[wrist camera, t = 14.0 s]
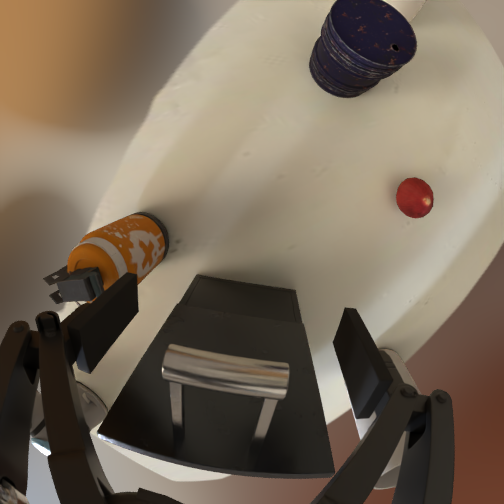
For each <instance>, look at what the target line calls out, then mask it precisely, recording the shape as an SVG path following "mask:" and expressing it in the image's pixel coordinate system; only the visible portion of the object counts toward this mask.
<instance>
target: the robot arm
mask: <svg viewBox="0 0 504 504" xmlns="http://www.w3.org/2000/svg"><path fill="white" fill-rule="evenodd" d="M138 312H139V309H138V287H137V274H134V273H129V272H126V273H125V274H124V275H123V276H122V277H120V278H119V279H118V280H117V281H116V282H115V283H113V284H112V285H111V286H110V287H109V288H108V289H106V290H105V291H104V292H103V293H102V294H101V295H100V296H98V297H97V298H96V299H95V300H94V301H93V302H92V303H88V302H87V303H85V304H82V305H80V306H79V307H78V308H77V309H75V311H73V312H72V313H71V315H69V316H68V317H66V318H65V319H64V320H63V321H62V322H61V323H60V319H59V316H58V314H57V313H56V312H53V311H45V312H42V313H40V314H39V315H37V317H36V319H35V320H36V324H37V328H38V331H32V330H30V327H29V325H28V323H27V322H25V321H17V322H14V323H13V324H11V325H10V327H9V328H8V330H7V332H6V334H5V337H4V339H3V341H2V343H1V345H0V504H29V502H28V500H27V498H26V490H27V479H28V451H29V440H30V435H31V436H32V437H33V438H32V439H31V442H32V444H33V445H34V446H35V447H36V448H37V449H38V450H40V451H41V452H42V453H44V454H45V455H47V456H48V464H49V468H50V471H51V475H52V479H53V482H54V485H55V489H56V492H57V495H58V498H59V500H60V503H61V504H183V503H181V502H179V501H176V500H174V499H172V498H170V497H168V496H165V495H162V494H158V493H155V492H151V491H148V490H145V489H142V488H139V489H138V492H120V493H114V491H113V489H112V487H111V486H110V484H109V482H108V480H107V478H106V476H105V474H104V472H103V469H102V466H101V464H100V462H99V459H98V456H97V454H96V451H95V448H94V445H93V443H92V439H91V437H90V431H91V430H92V429H93V428H94V427H95V426H97V425H98V424H99V423H101V422H102V421H103V420H104V419H105V417H106V415H107V413H108V412H107V408H106V406H105V405H104V403H103V402H102V400H101V399H100V398H99V397H98V396H97V395H96V394H95V393H94V392H92V391H91V390H90V389H88V388H87V387H85V386H84V385H82V384H80V383H78V382H76V379H75V374H74V369H73V366H72V365H73V364H74V363H75V361H76V363H77V366H78V369H79V370H82V371H84V372H87V373H89V374H91V372H92V371H93V370H94V368H95V367H96V366H97V364H98V363H99V362H100V360H101V359H102V358H103V356H104V355H105V354H106V352H107V351H108V350H109V348H110V347H111V346H112V344H113V343H114V342H115V341H116V339H117V338H118V337H119V335H120V334H121V333H122V332H123V330H124V329H125V328H126V327H127V325H128V324H129V323H130V321H131V320H132V319H133V318H134V316H135V315H136V314H137V313H138ZM333 345H334V348H335V352H336V355H337V358H338V361H339V364H340V367H341V371H342V374H343V377H344V380H345V384H346V387H347V390H348V394H349V397H350V400H351V404H352V407H353V411H354V414H355V418H356V419H368V418H370V417H371V415H372V414H373V412H374V411H375V414H376V418H375V419H374V421H373V422H372V424H371V425H370V426H369V428H368V430H367V432H366V433H365V435H364V436H363V438H362V439H361V441H360V442H359V444H358V445H357V447H356V448H355V450H354V451H353V452H352V454H351V455H350V456H349V458H348V459H347V460H346V462H345V463H344V464H343V466H342V467H341V468H340V469H339V471H338V472H337V473H336V475H335V476H334V477H333V478H332V479H331V480H330V482H329V483H328V484H327V485H326V486H325V487H324V489H323V490H322V491H321V492H320V493H319V494H318V496H316V498H315V499H314V500H313V501H312V502H311V503H310V504H363V503H364V501H365V500H366V499H367V497H368V496H369V494H370V492H371V491H372V489H373V488H374V486H375V485H376V483H377V481H378V480H379V478H380V476H381V475H382V473H383V471H384V470H385V468H386V466H387V464H388V462H389V461H390V459H391V457H392V455H393V453H394V451H395V449H396V447H397V445H398V443H399V441H400V439H401V437H402V435H403V433H404V431H406V436H405V443H404V449H403V455H402V461H401V466H400V471H399V476H398V480H397V484H396V489H395V493H394V497H393V500H392V504H451V502H452V493H453V481H454V421H453V408H452V400H451V397H450V395H449V394H448V393H447V392H445V391H443V390H439V389H437V390H434V391H433V392H432V393H431V394H430V396H426V395H420V394H418V391H417V390H416V389H415V387H413V386H412V385H410V384H407V383H404V381H403V379H402V377H401V375H400V373H399V372H398V370H397V368H396V366H395V364H394V363H393V360H392V359H391V357H390V355H389V354H387V353H386V352H385V351H384V350H378V349H377V347H376V345H375V343H374V341H373V339H372V337H371V335H370V333H369V332H368V330H367V328H366V326H365V324H364V322H363V321H362V319H361V317H360V315H359V313H358V312H357V310H356V309H354V308H345V309H344V312H343V315H342V318H341V321H340V324H339V327H338V329H337V332H336V335H335V338H334V341H333ZM39 378H40V385H41V394H40V393H39V392H38V391H37V388H38V383H39Z"/></svg>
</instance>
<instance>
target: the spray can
mask: <svg viewBox="0 0 504 504" xmlns="http://www.w3.org/2000/svg"><path fill="white" fill-rule="evenodd" d="M383 1H385V2H386V3H388V4H390V5H391V6H393V7H394V8H395V9H397V10H398V11H399V12H400V13H401V14H402V15H403V16H404V17H405V18H406V19H407V21H408V22H409V23H410V22H411V21H412V20H413V18H414V17H415V16H416V14H417V13H418V12H419V10H420V9H421V7H422V6H423V4H424V3H425V1H426V0H383Z"/></svg>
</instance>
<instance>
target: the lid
mask: <svg viewBox="0 0 504 504" xmlns="http://www.w3.org/2000/svg"><path fill="white" fill-rule="evenodd" d="M97 434H98V437H99V438H100V439H103V440H105V441H108V442H110V443H112V444H115V445H118V446H120V447H123V448H126V449H128V450H131V451H134V452H137V453H140V454H143V455H146V456H149V457H153V458H156V459H160V460H163V461H167V462H171V463H175V464H179V465H183V466H187V467H192V468H197V469H202V470H207V471H213V472H219V473H225V474H233V475H242V476H252V477H263V478H284V479H306V478H307V479H309V478H328V477H329V478H330V477H332V476H333V475H334V474H335V469H334V463H333V458H332V452H331V448H330V442H329V437H328V432H327V427H326V422H325V417H324V412H323V407H322V402H321V398H320V393H319V388H318V384H317V379H316V375H315V370H314V366H313V361H312V357H311V352H310V348H309V344H308V340H307V335H306V331H305V327H304V324H303V323H295V322H287V321H279V320H272V319H265V318H258V317H251V316H245V315H239V314H232V313H226V312H221V311H215V310H209V309H204V308H198V307H193V306H188V305H183V304H177V305H176V306H175V308H174V309H173V311H172V312H171V314H170V315H169V317H168V318H167V320H166V321H165V323H164V324H163V326H162V327H161V329H160V330H159V332H158V334H157V335H156V337H155V338H154V340H153V341H152V343H151V344H150V346H149V347H148V349H147V351H146V352H145V354H144V355H143V357H142V358H141V360H140V362H139V363H138V365H137V366H136V368H135V370H134V371H133V373H132V374H131V376H130V378H129V379H128V381H127V382H126V384H125V386H124V387H123V389H122V391H121V392H120V394H119V395H118V397H117V399H116V400H115V402H114V404H113V405H112V407H111V409H110V410H109V412H108V414H107V415H106V417H105V419H104V421H103V422H102V424H101V426H100V427H99V429H98V431H97Z"/></svg>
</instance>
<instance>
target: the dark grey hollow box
mask: <svg viewBox="0 0 504 504" xmlns="http://www.w3.org/2000/svg"><path fill="white" fill-rule="evenodd" d="M179 304H183V305H188V306H193V307H198V308H204V309H209V310H215V311H221V312H226V313H232V314H239V315H245V316H251V317H258V318H265V319H272V320H279V321H287V322H295V323H302V319H301V314H300V309H299V304H298V299H297V294H296V290H291V289H284V288H277V287H270V286H264V285H257V284H251V283H244V282H238V281H232V280H226V279H220V278H214V277H208V276H202V275H196V276H195V278H194V280H193V281H192V283H191V284H190V286H189V288H188V289H187V291H186V293H185V294H184V296H183V297H182V299H181V301H180V302H179Z"/></svg>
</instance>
